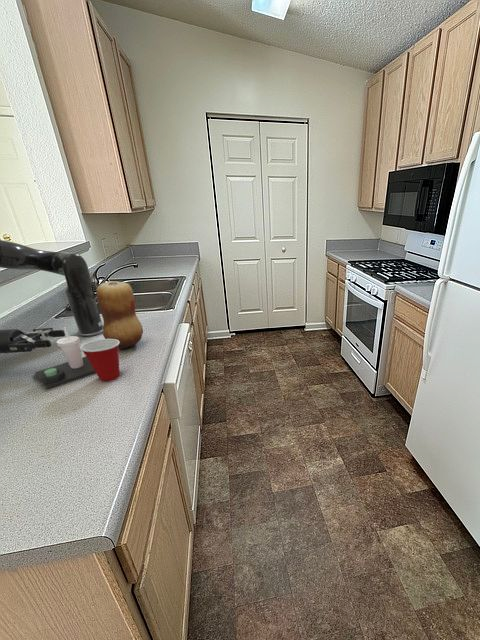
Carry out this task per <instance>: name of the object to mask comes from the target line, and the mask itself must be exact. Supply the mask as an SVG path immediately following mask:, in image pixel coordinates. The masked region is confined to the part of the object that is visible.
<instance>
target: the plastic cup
mask: <svg viewBox="0 0 480 640" xmlns="http://www.w3.org/2000/svg"><path fill="white" fill-rule="evenodd" d="M119 343H120V342H119V340H116V339H105V338H100V339H94V340H90V341H87V342H85V343H82V344H81V345H80V349H81V352H82V353H83V354H84V355H85V357H87V358H88V360H89V362H90V364H91V365H92V367H93V369H94V371H95V372H96V373H95V374H96V376H97V377H98V379H99V380H100V381H101V382H111V381H114V380H116V379H118V378H119V377H120V373H121V372H120V359H119V358H120V357H119V349H118V348H119V347H118V346H119Z"/></svg>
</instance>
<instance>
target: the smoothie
mask: <svg viewBox="0 0 480 640" xmlns="http://www.w3.org/2000/svg"><path fill="white" fill-rule="evenodd" d="M63 330H64V333H65V336H64V337H61V338H59V339H58V340H57V341H56V346H58V347H59V349H60V351H61V352H62V354H63V356H64V358H65V360H66V362H68V363H69V365H70V367H71V368H79V367H82V366H83V359H82V358H83V355H82V350H81V349H80V346H81V345H80V341H81V340H80V337H79V336H77V335H76V336H75V335H71V336H70V335H69V333H68V330H67V327H65V326H64V327H63Z"/></svg>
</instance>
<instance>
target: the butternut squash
mask: <svg viewBox="0 0 480 640" xmlns="http://www.w3.org/2000/svg"><path fill="white" fill-rule="evenodd" d="M96 298H97V304H98V305H97V307H98V310H99V312H100V315H101V316H102V319H103V332H102V336H103V339H116V340H119V342H120V343H119V346H118V347H119V348H118V350H125V349H127V348H133V347H135V346H136V344H138V343H139V342H140V341H141V340H142V338H143V334H144V328H143V324H142V323H141V321H140V319H139V318H138V316H137V313H136V300H135V295H134V291H133V288H132V287H131V285H130V284H129V283H127V282H124V281H111V280H109V281H105V282H102V283H100V284H99V285H98V286H97V288H96Z"/></svg>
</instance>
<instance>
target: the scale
mask: <svg viewBox="0 0 480 640" xmlns="http://www.w3.org/2000/svg"><path fill="white" fill-rule="evenodd" d="M82 359H83V366H82V367H79V368H71V367H70V365H69V363H68V361H66V362H63V363H60V364H57V365H54V366H50V367H47V368H44V369H40V370H37V371H34V374H35V376H36V377H37V378H38V380H39V381H40V383H41V384H42V385H43V386H44V388H45V389H46V390H48V391H49V390H51V389H54V388H57V387H60V386H62V385H65V384H68V383H71V382H74V381H77V380H80V379H84V378H86V377H90V376H92V375H95V374H96V372H95V371H94V369H93V367H92V365H91V364H90V362H89V360H88V358H87V357H86V356H82ZM51 368H56V369H57V372H58V374H56V375H54V376H50V377H46V375H45V373H44V372H45V371H46V370H48V369H51Z"/></svg>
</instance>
